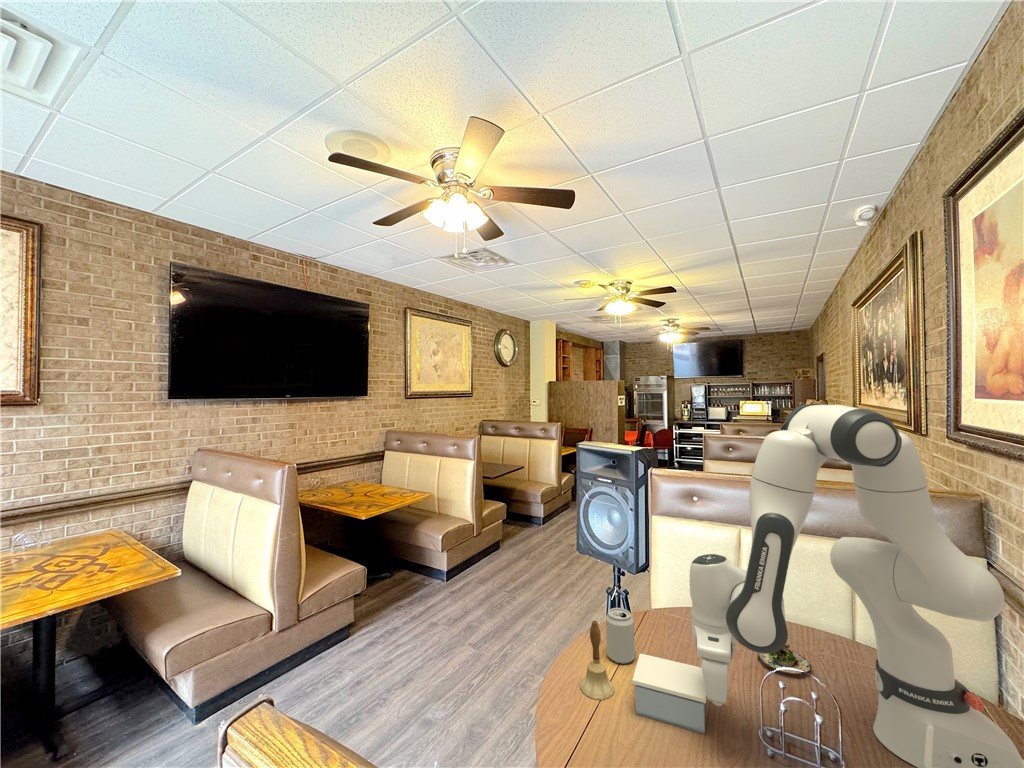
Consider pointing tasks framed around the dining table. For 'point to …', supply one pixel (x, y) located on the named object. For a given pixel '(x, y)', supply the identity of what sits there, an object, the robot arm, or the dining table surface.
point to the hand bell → (596, 671)
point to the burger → (784, 660)
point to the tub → (670, 709)
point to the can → (620, 635)
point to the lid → (671, 678)
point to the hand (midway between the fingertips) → (717, 696)
